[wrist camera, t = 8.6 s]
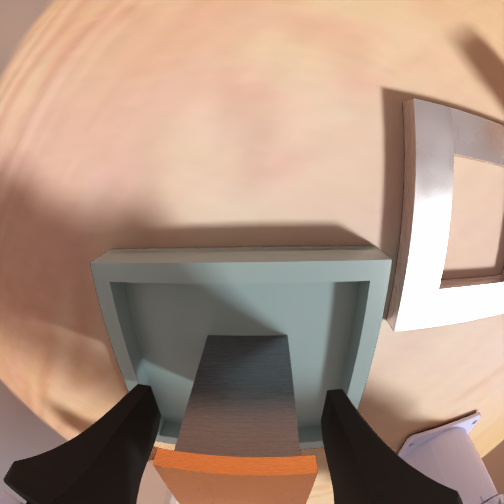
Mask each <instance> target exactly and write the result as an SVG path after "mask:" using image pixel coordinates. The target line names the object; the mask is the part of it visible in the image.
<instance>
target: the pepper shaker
mask: <svg viewBox="0 0 504 504" xmlns="http://www.w3.org/2000/svg"><path fill="white" fill-rule="evenodd" d="M153 462H154V460H150V461H148V462H147V464H146V467H145V470H144V472H143V476H142V479H141V483H140V487H139V492H138V497H137V503H136V504H179V503H178V501H177V500H176V499H175V497H174V496H173V494H172V493H171V492H170V490H169V489H168V487H167V486H166V484H165V483H164V481H163V480H162V478H161V477H160V475H159V474H158V472H157V470H156V469H155V467H154V466H153Z"/></svg>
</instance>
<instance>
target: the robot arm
mask: <svg viewBox="0 0 504 504" xmlns="http://www.w3.org/2000/svg"><path fill="white" fill-rule="evenodd" d="M480 417H481V414H480V412H477V413H475V414H472V415H470V416H468V417H465V418H462V419H460V420H457V421H455V422H452V423H449V424H446V425H443V426H440V427H437V428H434V429H431V430H428V431H425V432H421V433H418V434H414V435H412V436H410V437H409V438H408V439H407V440H406V442H405V444H404V445H403V447H402V448H401V450H400V451H399V453H398V454H396V453H395V452H394V451H393V450H392V449H390V448H389V447H388V446H387V445H386V444H385V443H384V442H383V441H382V439H381V438H380V437H379V436H378V435H377V434H376V433H375V432H374V431H373V430H372V428H371V427H370V426H369V425H368V423H367V422H366V421H365V420H364V418H363V417H362V416H361V415H360V413H359V412H358V411H357V409H356V408H355V406H354V405H353V404H352V402H351V401H350V399H349V398H348V396H347V395H346V393H345V391H344V390H343V389H335V390H327V394H326V398H325V403H324V408H323V412H322V417H321V429H322V439H323V444H324V449H325V453H326V458H327V462H328V467H329V471H330V476H331V480H332V485H333V492H334V504H504V495H503V494H501V495H498V493H497V491H496V489H495V486H494V484H493V482H492V480H491V478H490V476H489V474H488V471H487V470H486V467H485V465H484V463H483V461H482V459H481V457H480V455H479V454H478V452H477V450H476V448H475V446H474V444H473V442H472V440H471V439H470V437H469V435H468V434H469V433H470V431H471V430H472V428H473V427H474V426H475V424H476V423H477V421H478V420H479V418H480ZM160 420H161V413H160V411H159V408H158V405H157V403H156V400H155V397H154V394H153V391H152V388H151V386H149V385H142V384H137V385H136V386H135V387H134V388H133V389H132V390H131V391H130V392H129V393H128V394H127V395H125V396H124V397H123V398H122V399H121V400H120V401H119V402H118V403H117V404H116V405H115V406H114V407H113V408H112V409H111V410H109V411H108V412H107V413H106V414H105V415H104V416H103V417H102V418H100V419H99V420H98V421H97V422H95V423H94V424H93V425H92V426H90V427H89V428H88V429H86V430H85V431H84V432H82V433H81V434H79V435H78V436H76V437H75V438H73V439H71V440H70V441H68V442H66V443H64V444H62V445H60V446H58V447H57V448H55V449H52V450H50V451H47V452H45V453H42V454H40V455H37V456H34V457H31V458H27V459H23V460H19V461H15V462H14V463H13V464H12V466H11V467H10V469H9V471H8V472H7V474H6V476H5V478H4V482H5V483H6V484H7V485H8V486H9V487H10V488H11V489H13V490H14V491H15V492H16V493H17V494H19V495H20V496H21V497H22V498H23V499H25V500H26V501H27V503H26V504H136V503H137V497H138V492H139V487H140V483H141V479H142V476H143V472H144V470H145V467H146V464H147V462H148V459H149V456H150V454H151V451H152V448H153V445H154V443H155V440H156V437H157V434H158V429H159V425H160ZM497 495H498V496H497ZM0 504H23V503H22V502H20V501H19V500H17V499H16V498H15V497H13V496H12V495H11V494H9V493H8V492H6V491H5V490H4V491H3V492H2V494H1V496H0Z"/></svg>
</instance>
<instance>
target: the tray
mask: <svg viewBox="0 0 504 504" xmlns="http://www.w3.org/2000/svg"><path fill="white" fill-rule="evenodd" d="M391 263H392V259H391V258H390V257H388V256H387V255H386V254H385V253H384V252H382V251H381V250H380V249H379V248H378V247H376V246H375V245H359V246H271V247H205V248H149V249H110V250H108V251H107V252H105V253H104V254H102V255H101V256H99V257H98V258H96V259H95V260H93V261H92V262H90V266H91V271H92V275H93V280H94V284H95V288H96V292H97V296H98V300H99V304H100V308H101V312H102V315H103V319H104V322H105V326H106V329H107V332H108V336H109V339H110V342H111V345H112V348H113V351H114V354H115V357H116V360H117V363H118V365H119V368H120V371H121V373H122V376H123V379H124V381H125V384H126V386H127V389H128V391H129V392H130V391H131V390H132V389H133V388H134V387H135V386H136V385H137V384H142V385H149V386H151V388H152V391H153V394H154V397H155V400H156V403H157V405H158V408H159V411H160V413H161V420H160V425H159V429H158V434H157V437H156V440H155V441H158V442H163V443H170V444H176V443H177V439H178V435H179V432H180V428H181V425H182V421H183V418H184V414H185V411H186V407H187V404H188V400H189V397H190V394H191V390H192V387H193V383H194V380H195V376H196V373H197V370H198V366H199V363H200V360H201V356H202V353H203V350H204V346H205V343H206V340H207V336H208V335H236V336H268V335H288V343H289V351H290V360H291V368H292V377H293V386H294V396H295V405H296V415H297V425H298V435H299V446H300V449H312V448H323V447H324V444H323V439H322V429H321V417H322V412H323V408H324V403H325V398H326V394H327V390H335V389H343V390H344V391H345V393H346V395H347V396H348V398H349V399H350V401H351V402H352V404H353V405H354V406H355V408H356V409H357V410H358V407H359V404H360V400H361V397H362V394H363V391H364V388H365V384H366V381H367V378H368V374H369V370H370V367H371V363H372V359H373V355H374V352H375V348H376V343H377V339H378V335H379V330H380V326H381V321H382V316H383V311H384V306H385V301H386V295H387V290H388V283H389V277H390V270H391Z"/></svg>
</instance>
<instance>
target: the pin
mask: <svg viewBox="0 0 504 504" xmlns="http://www.w3.org/2000/svg"><path fill="white" fill-rule="evenodd" d="M153 466H154V467H155V469H156V470H157V472H158V474H159V475H160V477H161V478H162V480H163V481H164V483H165V484H166V486H167V487H168V489H169V490H170V492H171V493H172V494H173V496H174V497H175V499H176V500H177V501H178V503H179V504H306V502H307V499H308V497H309V494H310V492H311V489H312V487H313V484H314V482H315V479H316V476H317V473H318V471H317V463H316V455H308V456H300V446H299V435H298V425H297V415H296V405H295V396H294V386H293V377H292V368H291V360H290V351H289V343H288V335H268V336H236V335H208V336H207V340H206V343H205V346H204V350H203V353H202V356H201V360H200V363H199V366H198V370H197V373H196V376H195V380H194V383H193V387H192V390H191V394H190V397H189V400H188V404H187V407H186V411H185V414H184V418H183V421H182V425H181V428H180V432H179V435H178V439H177V443H176V446H175V450H174V451H173V450H167V449H161V448H158V449H157V452H156V455H155V459H154V462H153Z"/></svg>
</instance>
